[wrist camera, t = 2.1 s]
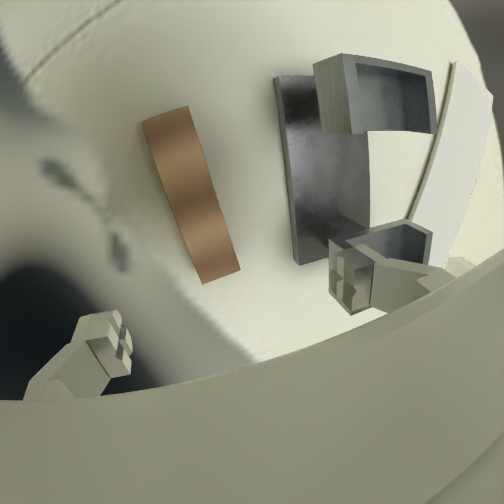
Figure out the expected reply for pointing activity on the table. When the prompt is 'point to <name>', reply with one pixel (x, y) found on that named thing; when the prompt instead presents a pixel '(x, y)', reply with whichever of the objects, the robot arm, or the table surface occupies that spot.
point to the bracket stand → (348, 153)
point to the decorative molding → (453, 162)
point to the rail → (191, 193)
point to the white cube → (458, 266)
